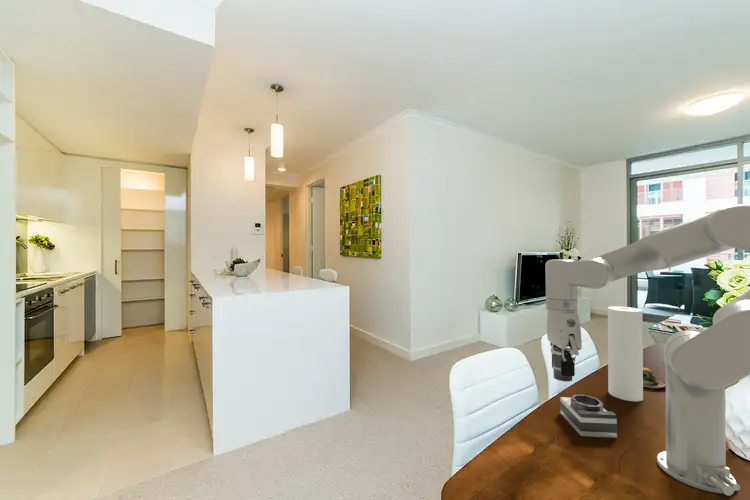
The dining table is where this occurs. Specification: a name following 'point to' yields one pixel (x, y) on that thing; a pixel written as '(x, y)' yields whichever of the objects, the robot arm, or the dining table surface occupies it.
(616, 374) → the cylinder container
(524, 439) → the dining table surface
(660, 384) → the white patterned bowl
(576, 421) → the grey striped block
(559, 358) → the lens
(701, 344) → the robot arm
